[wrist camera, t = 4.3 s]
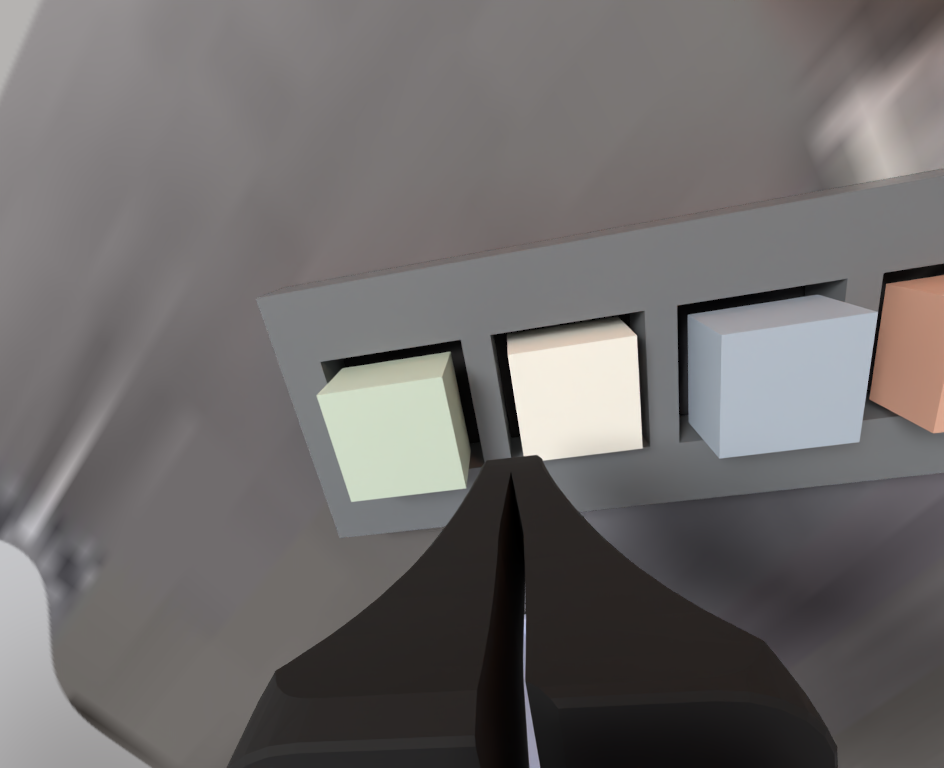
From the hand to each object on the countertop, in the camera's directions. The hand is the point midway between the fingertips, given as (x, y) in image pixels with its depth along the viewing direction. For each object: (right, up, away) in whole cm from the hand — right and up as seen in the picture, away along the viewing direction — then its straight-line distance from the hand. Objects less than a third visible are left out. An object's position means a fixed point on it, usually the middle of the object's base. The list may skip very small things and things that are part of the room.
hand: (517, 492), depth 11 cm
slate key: (+8, +3, +4) cm, 10 cm away
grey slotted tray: (+6, +4, +6) cm, 9 cm away
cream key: (+3, +3, +6) cm, 7 cm away
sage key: (-3, +2, +6) cm, 7 cm away
